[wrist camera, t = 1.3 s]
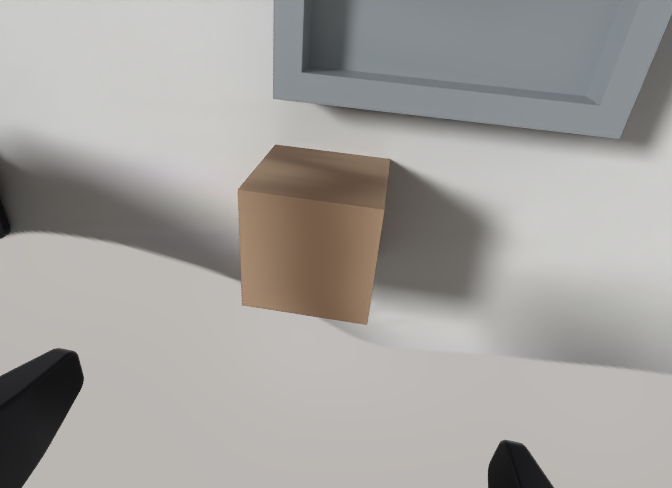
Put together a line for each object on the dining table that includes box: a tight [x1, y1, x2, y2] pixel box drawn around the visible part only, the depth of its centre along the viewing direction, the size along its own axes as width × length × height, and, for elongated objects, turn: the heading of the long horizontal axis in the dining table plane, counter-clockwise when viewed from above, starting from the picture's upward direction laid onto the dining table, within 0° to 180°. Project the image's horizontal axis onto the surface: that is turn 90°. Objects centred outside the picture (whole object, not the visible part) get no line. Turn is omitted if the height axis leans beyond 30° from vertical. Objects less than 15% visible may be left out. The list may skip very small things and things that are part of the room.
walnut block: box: [238, 145, 390, 325], centre depth 18 cm, size 5×5×5 cm
